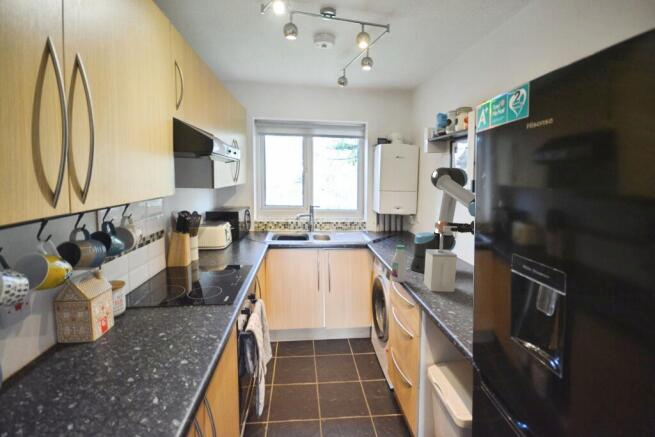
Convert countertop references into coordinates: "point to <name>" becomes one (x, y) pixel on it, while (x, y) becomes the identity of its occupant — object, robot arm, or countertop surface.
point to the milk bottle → (399, 265)
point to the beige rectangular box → (440, 270)
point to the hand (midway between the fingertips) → (439, 226)
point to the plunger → (441, 234)
